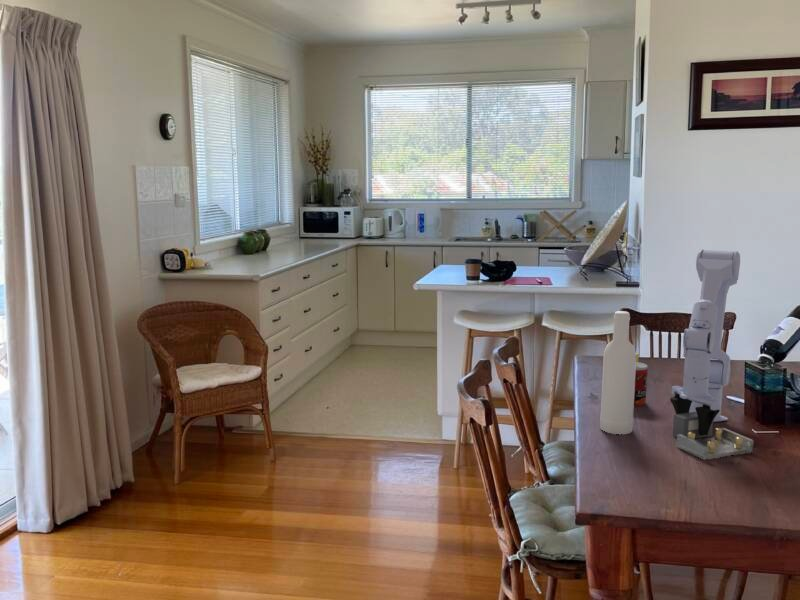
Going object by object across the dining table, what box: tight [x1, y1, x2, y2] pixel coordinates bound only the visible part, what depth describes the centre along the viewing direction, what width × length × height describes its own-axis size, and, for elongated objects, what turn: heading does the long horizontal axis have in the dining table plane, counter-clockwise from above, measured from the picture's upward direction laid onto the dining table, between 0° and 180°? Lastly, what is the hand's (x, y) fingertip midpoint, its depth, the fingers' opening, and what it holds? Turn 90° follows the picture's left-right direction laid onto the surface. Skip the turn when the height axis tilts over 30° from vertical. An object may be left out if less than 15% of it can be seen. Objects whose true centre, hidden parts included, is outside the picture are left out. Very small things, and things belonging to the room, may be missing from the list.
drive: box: [672, 412, 714, 439], centre depth 185 cm, size 4×9×6 cm, turn 111°
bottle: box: [599, 310, 637, 436], centre depth 188 cm, size 8×8×30 cm
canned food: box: [634, 361, 649, 407], centre depth 212 cm, size 8×8×11 cm
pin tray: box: [675, 427, 754, 461], centre depth 176 cm, size 9×14×4 cm, turn 110°
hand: (692, 430), depth 186 cm, fingers open, 7 cm apart
